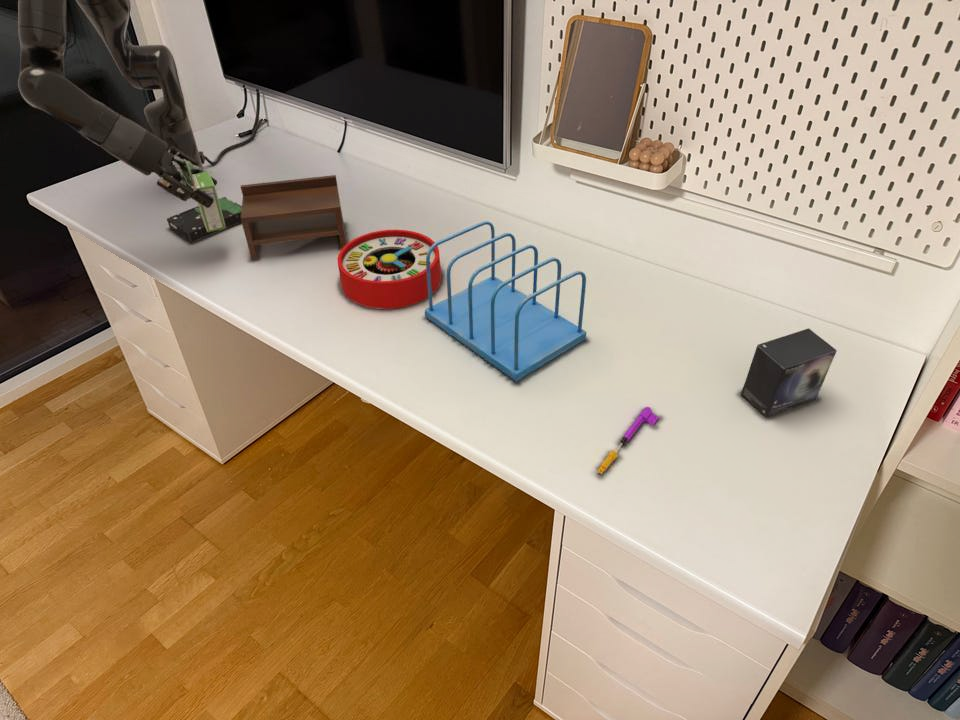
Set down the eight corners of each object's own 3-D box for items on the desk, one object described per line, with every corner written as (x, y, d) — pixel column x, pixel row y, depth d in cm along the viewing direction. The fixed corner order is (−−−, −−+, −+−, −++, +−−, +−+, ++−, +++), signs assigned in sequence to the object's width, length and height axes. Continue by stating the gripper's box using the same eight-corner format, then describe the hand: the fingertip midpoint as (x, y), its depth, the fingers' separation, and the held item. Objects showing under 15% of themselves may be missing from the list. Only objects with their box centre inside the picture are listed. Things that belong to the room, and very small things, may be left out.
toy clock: (316, 257, 136) (392, 219, 147) (321, 282, 140) (395, 243, 151) (383, 296, 125) (460, 252, 136) (386, 321, 129) (461, 277, 140)
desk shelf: (253, 234, 155) (240, 185, 147) (343, 224, 158) (335, 174, 150) (251, 260, 146) (238, 209, 139) (346, 248, 149) (338, 197, 142)
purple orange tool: (644, 408, 110) (595, 472, 100) (647, 404, 109) (597, 467, 99) (659, 418, 109) (610, 483, 100) (661, 413, 108) (613, 478, 99)
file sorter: (586, 340, 124) (594, 267, 114) (516, 384, 115) (517, 309, 105) (493, 282, 138) (492, 213, 128) (424, 317, 130) (418, 246, 120)
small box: (766, 420, 108) (784, 369, 101) (738, 394, 112) (754, 343, 105) (819, 400, 111) (839, 350, 104) (789, 376, 115) (807, 326, 109)
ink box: (227, 228, 143) (210, 167, 134) (207, 233, 141) (188, 172, 133) (221, 214, 147) (204, 154, 139) (202, 218, 146) (183, 158, 137)
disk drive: (192, 244, 152) (250, 219, 160) (188, 233, 150) (247, 208, 158) (169, 229, 158) (226, 205, 166) (165, 218, 156) (223, 194, 164)
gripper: (138, 145, 125) (221, 197, 134) (149, 116, 135) (225, 165, 144) (117, 176, 127) (200, 224, 136) (130, 145, 138) (206, 192, 147)
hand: (213, 194), depth 140 cm, fingers closed on ink box, 7 cm apart
